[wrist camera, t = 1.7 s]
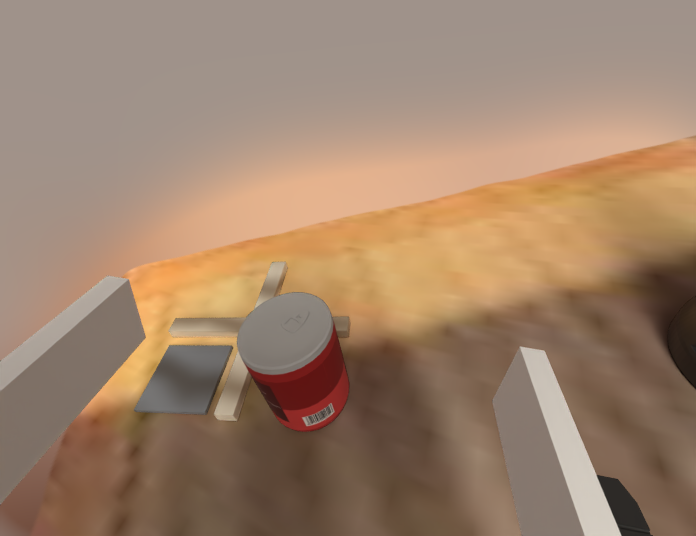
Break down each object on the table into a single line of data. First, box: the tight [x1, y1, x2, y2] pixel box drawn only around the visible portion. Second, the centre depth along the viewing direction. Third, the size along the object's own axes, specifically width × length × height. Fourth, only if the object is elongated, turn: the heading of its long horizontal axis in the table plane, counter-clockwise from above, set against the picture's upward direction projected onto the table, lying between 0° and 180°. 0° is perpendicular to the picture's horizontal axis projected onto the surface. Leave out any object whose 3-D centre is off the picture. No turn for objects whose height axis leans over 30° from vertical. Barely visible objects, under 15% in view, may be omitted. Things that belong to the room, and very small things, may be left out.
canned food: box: [237, 292, 349, 432], centre depth 33 cm, size 8×8×11 cm
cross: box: [134, 262, 350, 421], centre depth 43 cm, size 22×22×1 cm
